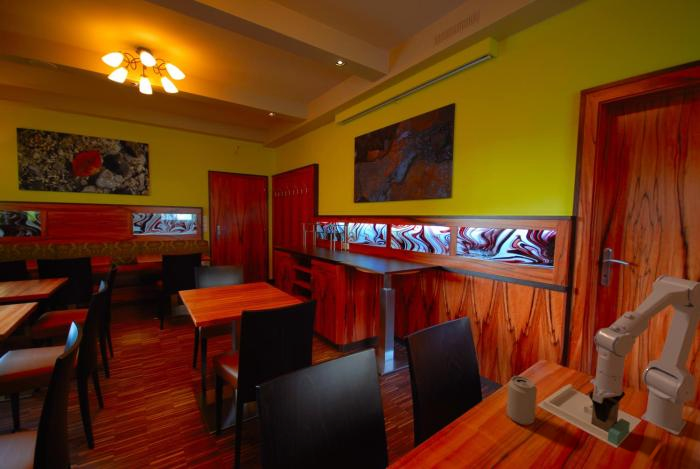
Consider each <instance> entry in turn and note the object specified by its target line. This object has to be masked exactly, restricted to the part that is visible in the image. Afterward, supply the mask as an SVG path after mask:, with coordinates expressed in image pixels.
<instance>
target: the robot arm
mask: <svg viewBox="0 0 700 469" xmlns="http://www.w3.org/2000/svg"><path fill="white" fill-rule="evenodd" d="M651 289H652V292H650V294H649V295H648V296H647V297H646V298H645V299H644V300H643V301H642V303H640V304H639V306H637V308H636V309H635V310H634V311H625V312H624V314H622V315H621V316H620V317H619V318H618V319H617V320H615V322H613V323H612V324H611V325H610V326H609V327H604V328H600V329H599V330H597V332H596V334H595V336H593V341H594V344H595V345H596V348H595V349H596V352H597V362H596V373H595V378H592V379H590V381H589V382H590V384H591V385H593V387H594V388H593V389H594V390H593V391H590V392H589V394H588V396H589V397H590V399H591V400H592V402H593V405H594V409H595V414H596V418H597V419H599V420H601V421H603V422H606V421H607V419H608V416H609V413H610V410H611V408H612V407H613V406H614V405H615V404H616V403H615V402H612V401H610V400H608V397H611V398H613V399H615V400H618V401H619V402H620V401H621V400H622V399H623V398H624V397H625V396H626V393H625V392H624V391H623V388H622V387H623V380H624V379H623V378H624V369H625V363H626V362H625V361H626V356H627V355H628V354H630V353H631V352H632V350H633V348H634V345H635V344H636V339H637V338H638V337H640V336H641V335H642V334H643V333H644V332H645V331H647V330H648V329H649V326H650V324H649V320H651V319H652V318H654V317H655V316H656V315H658V314H659V313H661V312H662V311H664V310H665V309H666V308H667V307H669V306H672V308H673V310H674V311H673V315H672V319H671V321H670V325H669V328H668V332H667V335H666V338H665V341H664V344H663V348H662V352H661V356H660V358H659V359H656V360H650V361H649V362H648V364H647V366H646V368H645V369H644V370H643V372H642V381H643V383H644V384H646V389H648V390H649V391H648V399H647V406H646V412H645V413H643V415H642V416H641V417H640V418H641V420H644V421H646V422H648V423H651V424H653V425H655V426H658V427H660V428H662V429H664V430H666V431H667V432H668V433H670V434H673V435H674V436H679V435H680V433H681V432H682V431H683V429H684V427H685V426H686V425H687V421H685V420H684V419H683V413H684V408H685V406H684V405H685V404H686V403H689V402H690V401H691V400H692V399H693V398H694V397H695V394H696V390H695V389H696V386H695V384H696V380H697V379H696V378H695V377H694V376H693V374H692V373H691V372H690V371H689V370H688V369H687V367H686V366H687V363H688V360H689V356H690V354H691V349H692V346H693V344H694V340H695V337H696V336H695V335H696V333H697V331H698V327H699V323H700V281H694V280H689V279H686V278H680V277H676V276H672V275H669V274H663V275H660V276H658V278H657V279H656V280H655V281H654V282H652V288H651Z"/></svg>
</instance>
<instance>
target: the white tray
mask: <svg viewBox="0 0 700 469" xmlns="http://www.w3.org/2000/svg"><path fill="white" fill-rule="evenodd" d="M536 406H537V407H540V408H541V409H543V410H545V411H547V412H548V413H550V414H552V415H554V416H556V417H558V418H560V419H561V420H563V421H565V422H567V423H569V424H571V425H572V426H574V427H576V428H579V429H581V430H582V431H583V432H586V433H588V434H589V435H592V436H593V437H595V438H596V439H599V440H601V441H603V442H605V443H606V444H608V445H610V446H611V447H614V448H616V449H617V448H618V447H620V445H621V444H622V443H623V442H624V440H625V439H626V438H627V437H628V436H629V435H630V434H631V433H632V432H633V430H635V428H637V426H638V425H639V423H641V422H642V419H640V418H637V417H636V416H634V415H631V414H629V413H627V412H625V411H623V410H620V409H619V410H618V419H617V423H616V424H615V425H614V426H613V427H612V428H611V429H610V430H609V432H606V431H604V430H602V429H600V428H598V427H596V426H595V425H593V424H591V420H592V411H593V402H592V400H591V399H590V397H589V395H587V394H585V393H583V392H580V391H578V390H576V389H574V388H573V385H572V384H570V383H568V384H567V385H563V387H561V388H560V389H558V390H556V391H555V392H554V393H552V394H551V395H549V396H548V397H545V399H543V400H541V401H540V402H538V403H537V404H536Z"/></svg>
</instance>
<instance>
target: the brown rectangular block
mask: <svg viewBox="0 0 700 469" xmlns="http://www.w3.org/2000/svg"><path fill="white" fill-rule="evenodd" d="M608 400H610V401H612V402H615V403H616V404H615V405H614V406H613V407H612V408H611V410H610V413H609V416H608V419H607V421H606V422H603V421H601V420H599V419H597V418H596V414H595V409H594V405H593V411H592V420H591V424H593V425H595V426H596V427H598V428H600V429H602V430H604V431H606V432H609V430H610V429H611V428H612V427H613V426H614V425H615V424H616V423H617V419H618V410H620V409H619V408H620V401H618V400H615V399H613V398H611V397H608Z"/></svg>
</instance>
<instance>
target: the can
mask: <svg viewBox="0 0 700 469" xmlns="http://www.w3.org/2000/svg"><path fill="white" fill-rule="evenodd" d="M535 384H536V383H535V382H534V381H533V380H532V379H530V378H528V377H525V376H522V375H514V376H512V377H511V379H510V380H509V381H508V387H507V388H508V389H507V399H506V404H507V405H506V414H507V416H509V419H511V420H512V421H513V422H515V423H517V424H519V425H524V426H528V425H531V424H534V422H535V419H536V406H537V404H536V403H537V393H538V390H537V386H536V385H535Z"/></svg>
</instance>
